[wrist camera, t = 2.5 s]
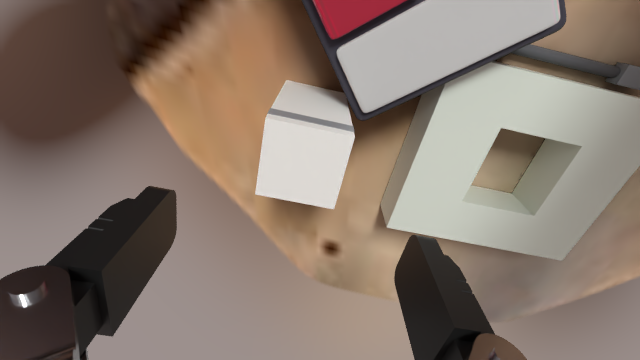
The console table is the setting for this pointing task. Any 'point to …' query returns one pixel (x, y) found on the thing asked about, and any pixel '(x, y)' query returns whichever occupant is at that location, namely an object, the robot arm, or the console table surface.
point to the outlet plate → (541, 175)
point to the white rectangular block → (305, 145)
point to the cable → (586, 65)
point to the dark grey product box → (421, 42)
